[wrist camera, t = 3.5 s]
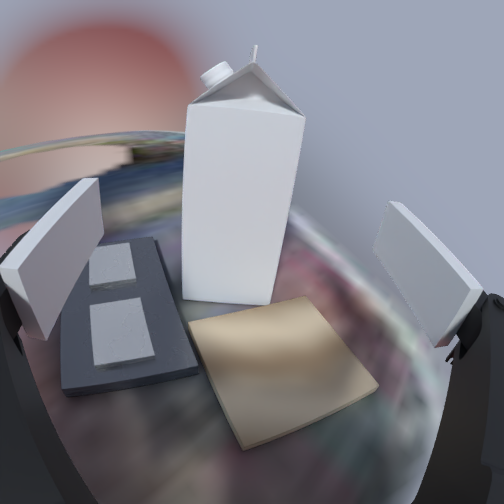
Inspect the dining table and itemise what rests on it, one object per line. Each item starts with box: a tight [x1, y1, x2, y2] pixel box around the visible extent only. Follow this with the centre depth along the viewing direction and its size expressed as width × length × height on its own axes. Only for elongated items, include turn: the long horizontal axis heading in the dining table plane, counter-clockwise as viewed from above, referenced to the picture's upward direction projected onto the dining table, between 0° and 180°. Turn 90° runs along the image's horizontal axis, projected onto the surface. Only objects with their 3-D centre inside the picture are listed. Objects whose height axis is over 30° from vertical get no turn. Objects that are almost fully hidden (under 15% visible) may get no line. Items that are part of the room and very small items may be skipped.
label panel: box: [60, 237, 199, 397], centre depth 22 cm, size 16×9×1 cm, turn 25°
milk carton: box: [182, 45, 306, 306], centre depth 22 cm, size 7×7×19 cm
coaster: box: [188, 296, 379, 451], centre depth 20 cm, size 10×10×1 cm
